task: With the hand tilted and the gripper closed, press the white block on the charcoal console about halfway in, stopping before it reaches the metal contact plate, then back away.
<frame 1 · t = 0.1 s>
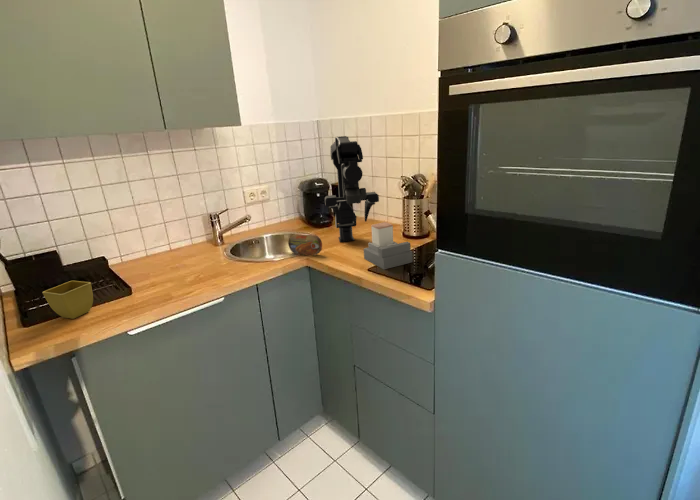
hand: (353, 222, 136), 15 cm above the worktop, tool pointing down, fingers open, 9 cm apart
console: (387, 260, 138), on the worktop
tin: (306, 254, 152), on the worktop
flower pot: (76, 315, 112), on the worktop
white block: (382, 236, 138), point 9 cm above the worktop, slide at 0.0 cm
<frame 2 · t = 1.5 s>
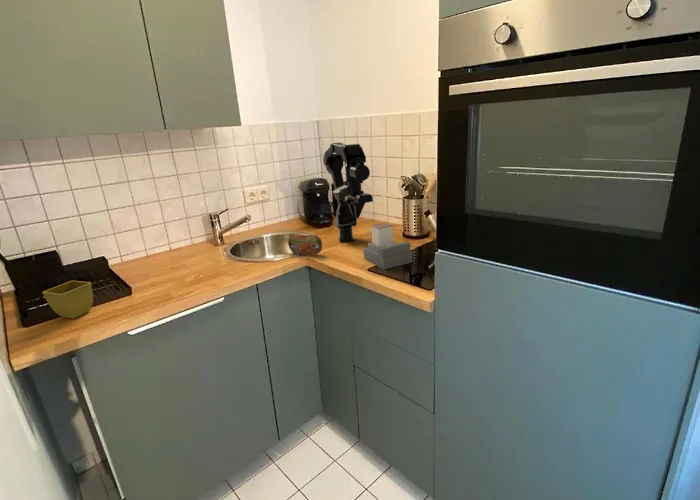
hand: (355, 217, 150), 13 cm above the worktop, tool pointing down, fingers closed
nothing on the worktop moved.
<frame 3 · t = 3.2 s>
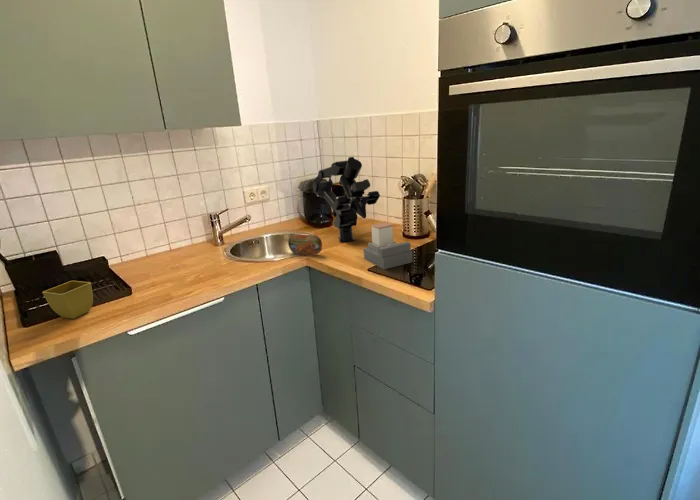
hand: (365, 217, 147), 13 cm above the worktop, tool tilted 45°, fingers closed
nothing on the worktop moved.
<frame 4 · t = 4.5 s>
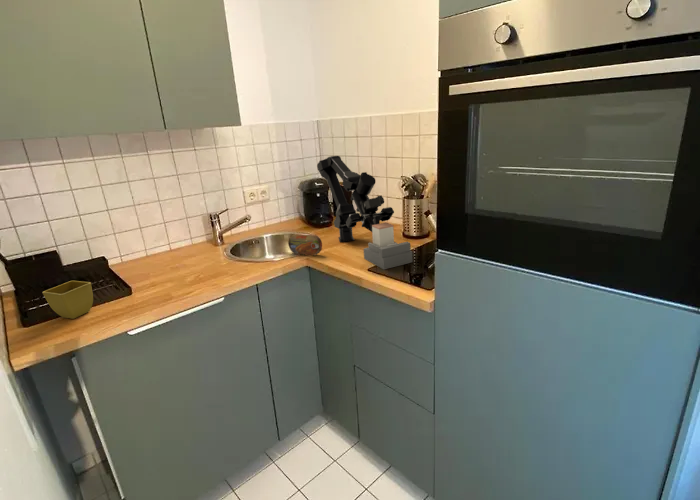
hand: (379, 235, 140), 8 cm above the worktop, tool tilted 45°, fingers closed, pressing on white block
white block: (383, 236, 138), point 9 cm above the worktop, slide at 0.5 cm, touching gripper
everything else where it was.
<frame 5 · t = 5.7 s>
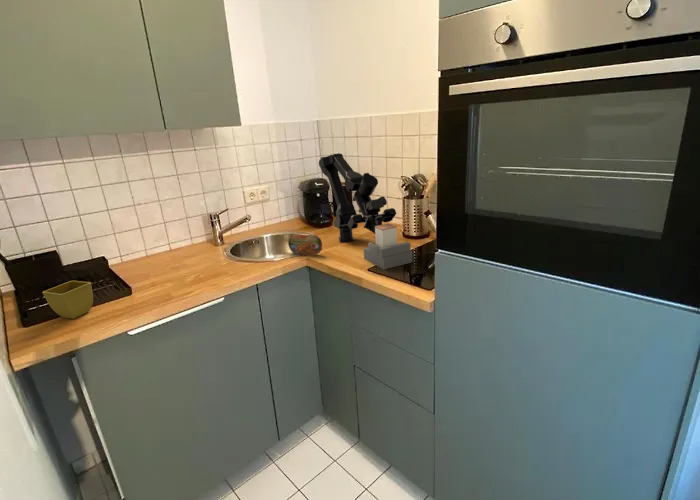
hand: (381, 237, 139), 8 cm above the worktop, tool tilted 45°, fingers closed
white block: (386, 237, 136), point 9 cm above the worktop, slide at 2.5 cm
everything else where it was.
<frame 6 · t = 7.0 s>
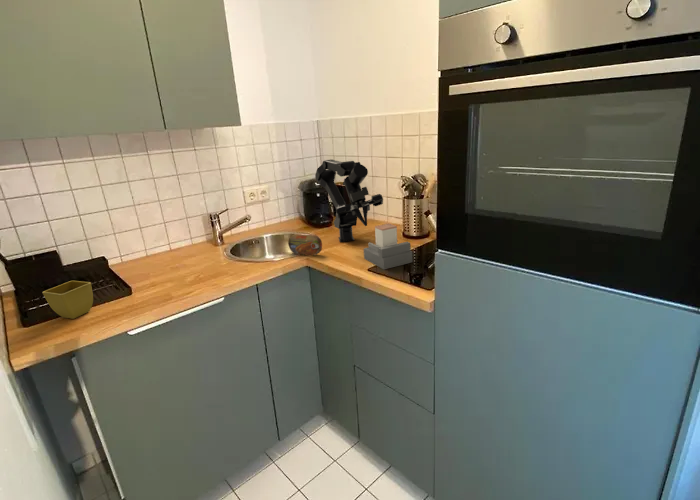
hand: (366, 225, 147), 10 cm above the worktop, tool tilted 35°, fingers closed
nothing on the worktop moved.
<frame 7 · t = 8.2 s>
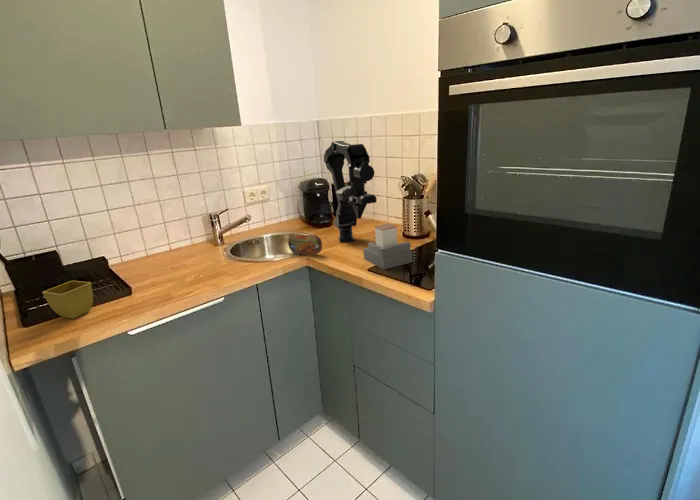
hand: (359, 218, 148), 13 cm above the worktop, tool pointing down, fingers closed
nothing on the worktop moved.
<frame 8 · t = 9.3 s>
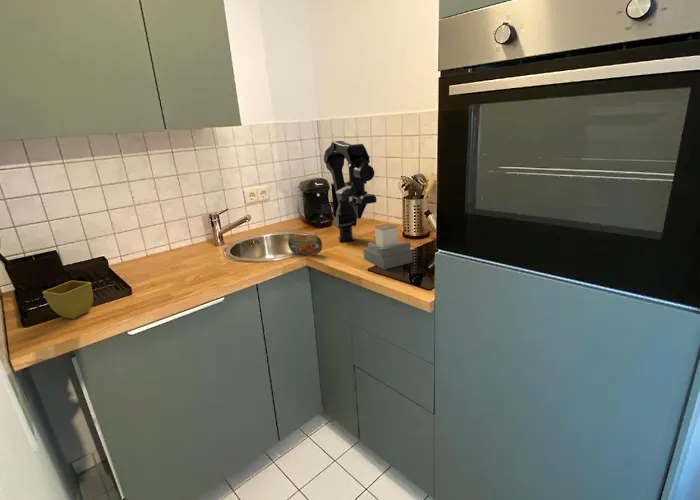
hand: (359, 218, 148), 13 cm above the worktop, tool pointing down, fingers closed
nothing on the worktop moved.
at the end: white block slide at 2.5 cm; tin moved 0.3 cm from its start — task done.
